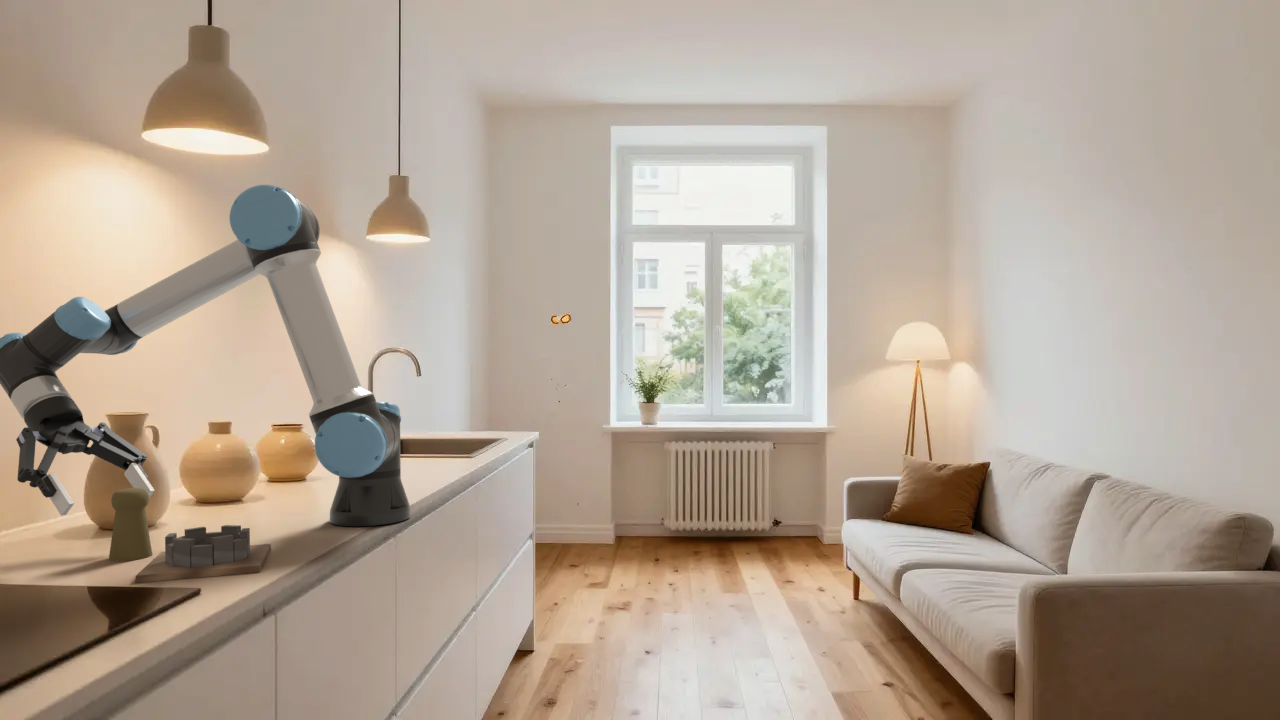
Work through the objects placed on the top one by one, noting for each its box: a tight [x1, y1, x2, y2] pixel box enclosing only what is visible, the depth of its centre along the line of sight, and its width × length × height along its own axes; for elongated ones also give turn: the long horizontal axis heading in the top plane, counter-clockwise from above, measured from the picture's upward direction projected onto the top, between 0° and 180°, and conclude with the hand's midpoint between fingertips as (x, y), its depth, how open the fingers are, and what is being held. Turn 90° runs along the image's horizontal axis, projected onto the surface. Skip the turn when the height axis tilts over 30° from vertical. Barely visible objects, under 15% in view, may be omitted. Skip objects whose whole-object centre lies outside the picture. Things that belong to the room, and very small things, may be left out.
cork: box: [108, 487, 153, 562], centre depth 132 cm, size 6×6×11 cm
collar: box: [135, 524, 272, 584], centre depth 126 cm, size 16×16×5 cm
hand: (110, 502), depth 133 cm, fingers open, 13 cm apart
